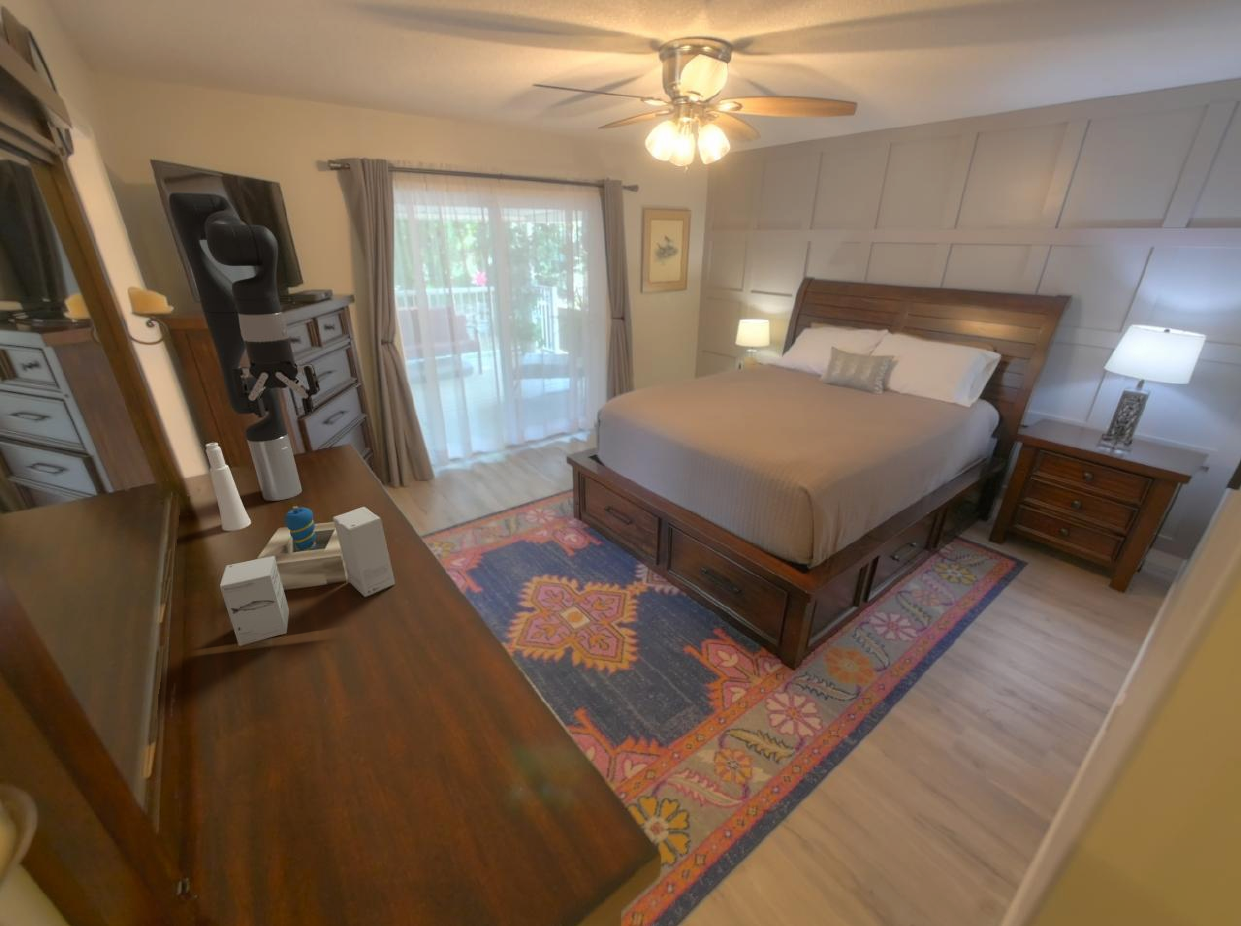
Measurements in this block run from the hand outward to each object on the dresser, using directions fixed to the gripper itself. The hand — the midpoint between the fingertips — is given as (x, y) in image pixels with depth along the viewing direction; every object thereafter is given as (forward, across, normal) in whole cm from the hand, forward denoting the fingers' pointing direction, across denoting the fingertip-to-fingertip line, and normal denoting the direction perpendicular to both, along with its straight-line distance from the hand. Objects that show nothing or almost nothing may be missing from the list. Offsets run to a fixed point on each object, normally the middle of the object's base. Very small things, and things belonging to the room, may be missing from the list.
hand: (285, 415), depth 106 cm
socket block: (+32, -2, +9) cm, 33 cm away
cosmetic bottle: (+33, +22, -15) cm, 42 cm away
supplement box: (+31, +1, +29) cm, 43 cm away
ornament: (+32, -1, +9) cm, 33 cm away
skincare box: (+32, -14, +19) cm, 39 cm away
